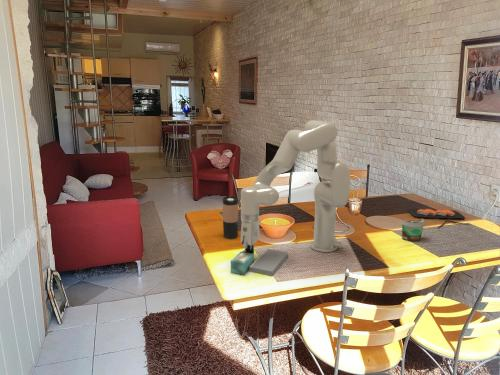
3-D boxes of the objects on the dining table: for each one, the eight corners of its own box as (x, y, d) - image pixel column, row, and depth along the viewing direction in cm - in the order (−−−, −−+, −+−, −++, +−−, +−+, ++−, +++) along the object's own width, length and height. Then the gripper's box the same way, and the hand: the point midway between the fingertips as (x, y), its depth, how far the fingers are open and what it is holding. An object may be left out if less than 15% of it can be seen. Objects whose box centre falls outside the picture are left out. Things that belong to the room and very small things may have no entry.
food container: (407, 243, 184) (409, 224, 181) (399, 239, 189) (401, 220, 187) (428, 241, 187) (431, 222, 184) (420, 236, 193) (422, 218, 190)
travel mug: (230, 232, 197) (229, 195, 192) (241, 236, 193) (241, 198, 188) (220, 236, 192) (219, 198, 187) (231, 240, 187) (230, 201, 182)
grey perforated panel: (287, 256, 169) (288, 250, 168) (272, 276, 151) (272, 269, 151) (250, 249, 176) (250, 243, 175) (231, 267, 158) (231, 261, 158)
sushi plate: (455, 213, 231) (456, 207, 230) (479, 230, 202) (480, 224, 201) (406, 211, 234) (406, 205, 233) (422, 228, 205) (423, 222, 204)
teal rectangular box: (254, 264, 161) (254, 253, 159) (244, 274, 152) (244, 263, 150) (241, 262, 163) (241, 251, 162) (230, 272, 154) (230, 260, 153)
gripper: (250, 223, 151) (250, 265, 155) (264, 212, 164) (264, 252, 169) (233, 220, 154) (234, 262, 158) (248, 210, 167) (248, 249, 171)
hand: (249, 257), depth 163 cm, fingers closed
